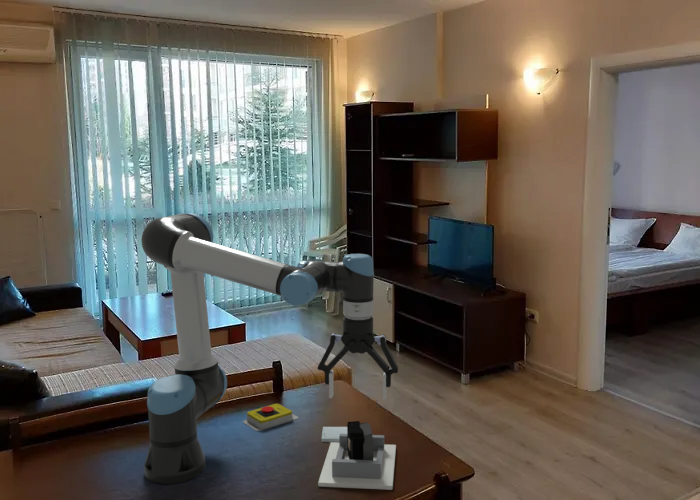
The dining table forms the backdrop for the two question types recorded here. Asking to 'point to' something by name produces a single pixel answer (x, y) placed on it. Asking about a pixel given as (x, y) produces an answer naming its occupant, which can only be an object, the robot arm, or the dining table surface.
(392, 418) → the dining table surface
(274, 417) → the emergency button
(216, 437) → the dining table surface
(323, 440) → the hard drive
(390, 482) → the housing
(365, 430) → the cpu cooler
